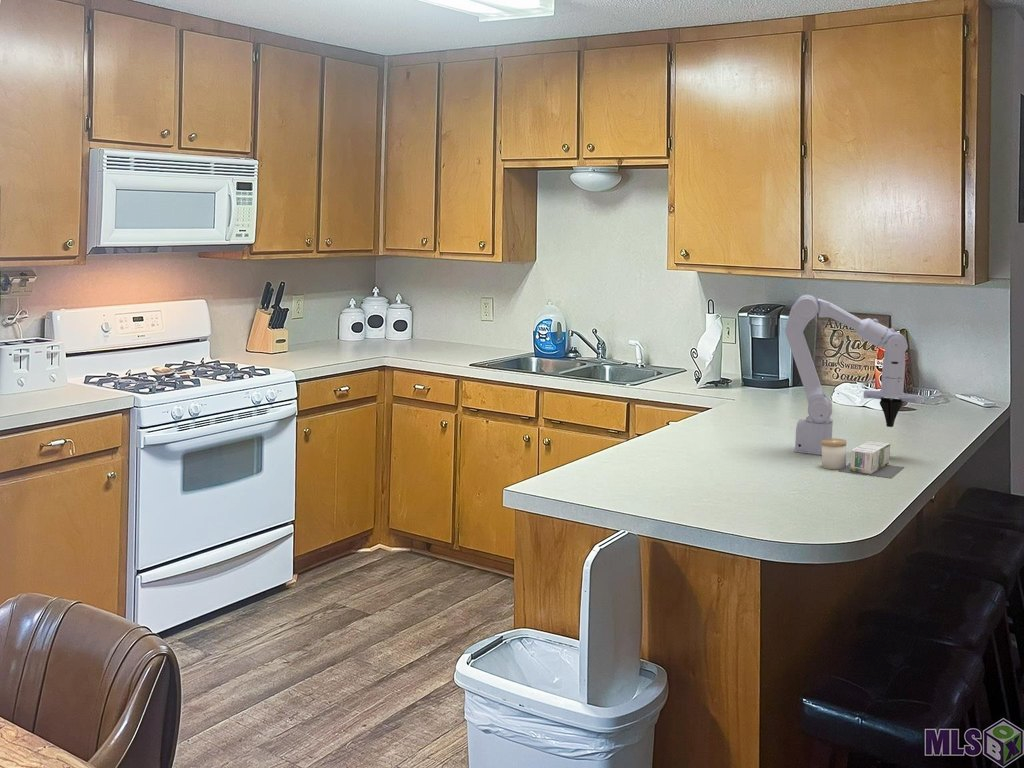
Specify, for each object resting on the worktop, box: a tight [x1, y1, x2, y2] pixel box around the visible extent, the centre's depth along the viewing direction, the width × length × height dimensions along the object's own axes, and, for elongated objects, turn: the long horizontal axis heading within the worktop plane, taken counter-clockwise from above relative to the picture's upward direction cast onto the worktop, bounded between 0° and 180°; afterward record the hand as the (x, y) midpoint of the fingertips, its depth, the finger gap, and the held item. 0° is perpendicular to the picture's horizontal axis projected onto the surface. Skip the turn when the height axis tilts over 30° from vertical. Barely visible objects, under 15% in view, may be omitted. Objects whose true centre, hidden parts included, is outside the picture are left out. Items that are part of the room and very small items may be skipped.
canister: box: [821, 437, 847, 470], centre depth 258 cm, size 6×6×7 cm
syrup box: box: [850, 440, 891, 474], centre depth 257 cm, size 6×6×14 cm
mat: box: [838, 462, 905, 479], centre depth 256 cm, size 13×14×1 cm
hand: (890, 426), depth 270 cm, fingers closed
